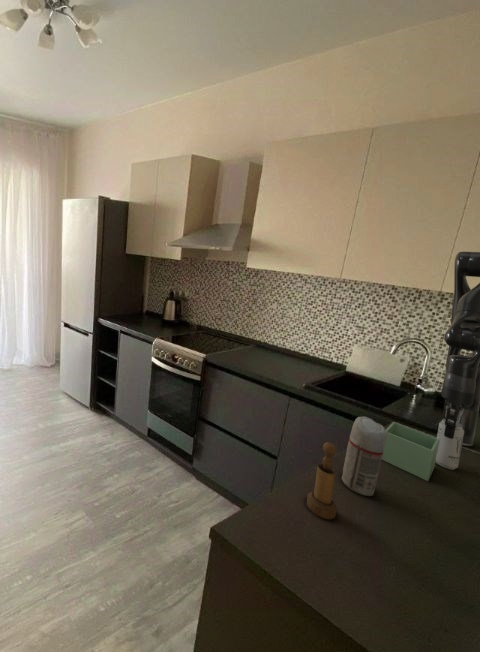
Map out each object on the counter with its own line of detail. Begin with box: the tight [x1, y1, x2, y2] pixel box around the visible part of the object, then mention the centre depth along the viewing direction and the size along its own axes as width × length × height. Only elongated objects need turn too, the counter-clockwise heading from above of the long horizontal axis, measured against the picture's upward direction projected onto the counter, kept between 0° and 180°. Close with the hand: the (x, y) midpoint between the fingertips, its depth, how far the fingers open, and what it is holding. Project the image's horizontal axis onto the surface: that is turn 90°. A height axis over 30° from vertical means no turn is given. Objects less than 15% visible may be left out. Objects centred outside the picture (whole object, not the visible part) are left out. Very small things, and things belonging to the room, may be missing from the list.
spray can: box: [340, 416, 386, 497], centre depth 96 cm, size 8×8×20 cm
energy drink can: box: [435, 418, 464, 470], centre depth 112 cm, size 6×6×15 cm
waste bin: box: [381, 421, 439, 482], centre depth 111 cm, size 12×12×10 cm
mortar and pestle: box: [306, 441, 338, 520], centre depth 86 cm, size 7×6×18 cm
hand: (450, 434), depth 112 cm, fingers open, 7 cm apart
